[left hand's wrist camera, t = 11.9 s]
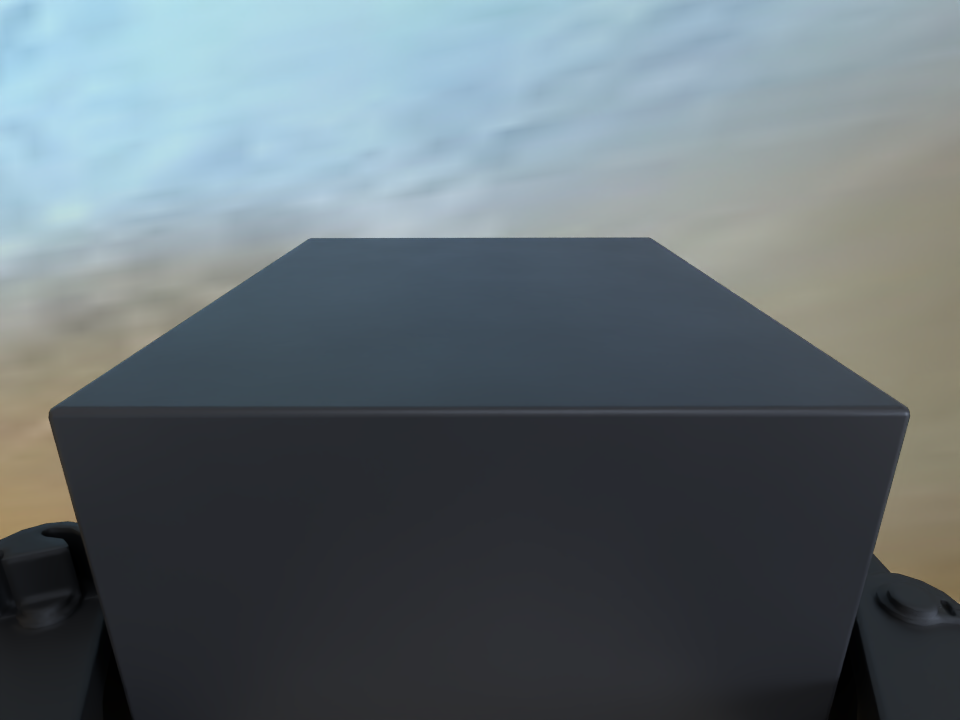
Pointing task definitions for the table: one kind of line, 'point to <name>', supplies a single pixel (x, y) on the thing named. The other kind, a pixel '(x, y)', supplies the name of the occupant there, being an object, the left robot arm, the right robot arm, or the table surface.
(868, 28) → the table surface
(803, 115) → the table surface
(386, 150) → the table surface
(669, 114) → the table surface
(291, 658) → the box
